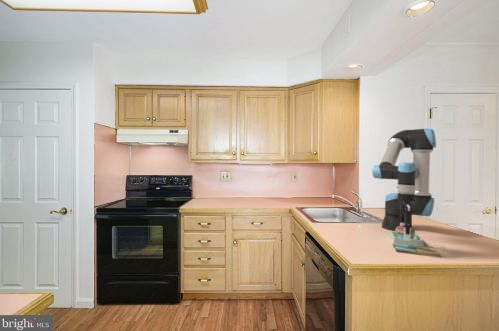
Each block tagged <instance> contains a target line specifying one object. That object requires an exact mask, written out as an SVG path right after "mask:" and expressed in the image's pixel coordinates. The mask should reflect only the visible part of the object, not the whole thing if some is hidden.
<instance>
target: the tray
mask: <svg viewBox="0 0 499 331" xmlns="http://www.w3.org/2000/svg"><path fill="white" fill-rule="evenodd" d="M389 233H390V234H389V236H390V239H391V240H392V243H395V244H404V245H414V246H423V247H425V241H424V240H423V238H421V236H420V235H419V234H418V233H415V234H414V239H411V240H410V241H404V240H400V239H399V236H398V233H397V232H396V231H394V230H390V231H389Z"/></svg>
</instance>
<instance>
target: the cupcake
mask: <svg viewBox="0 0 499 331" xmlns="http://www.w3.org/2000/svg"><path fill="white" fill-rule="evenodd" d="M407 225H409V224H407ZM403 226H405V225H402V226H398V227H396V229H395V231H394V232H397V233H398V236H399V239H400V240H404V227H403ZM413 234H416V231H415V229H414V228H413V226H412V227H411V234H410V240H411V237H412V235H413Z"/></svg>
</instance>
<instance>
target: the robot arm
mask: <svg viewBox="0 0 499 331" xmlns="http://www.w3.org/2000/svg"><path fill="white" fill-rule="evenodd" d="M436 147H437V139H436V133H435V131H434V129H433V128H419V129H417V128H416V129H403V130H401V131H398V132H396V133H394V134H393V135H392V136H391V137H390V138H389V139H388V141H387V148H386V150H385V152H384V154H383V156H382V159H381V161H380V163H379V164H377V165H373V167H372V171H371V172H372V178H374V179H380V180H395V181H396V180H397V185H396V189H397V192H394V193H393V192H391V193H387V194H385V199H384V217H383V219H382V222H381V227H382V229H385V230H388V231H389V230H390V231H393V232H396V231H395V229H396V227H398V226H402V225H405V226H403V227H404V241H410V234H411V227H412V228H413V216H420V217H430V216H431V215H432V213H433V210H434V206H435V198H434V197H432V194H431V193H430V191H429V188H430V165H431V164H430V160H431V157H430V156H431V153H432V152H433V151H434V148H436ZM404 149H410V152H412V154H413V155H412V156H413V159H412V160H413V161H412V162H399V163H398V165H396V164H397V160H398V158H399V156H400V154H401V151H402V150H404ZM407 224H409V225H407Z"/></svg>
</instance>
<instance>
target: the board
mask: <svg viewBox="0 0 499 331" xmlns="http://www.w3.org/2000/svg"><path fill="white" fill-rule="evenodd" d="M392 247H393V249H394V250H395V252H396V253H401V254H402V253H403V254H412V255H419V256H426V257H428V256H429V257H433V258H434V257H435V258H441V254H440V253H439V252H438V251H437V250H436V249H435V248H434V247H429V246H424V247H423V246H414V245H404V244H395V243H394V242H392Z"/></svg>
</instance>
